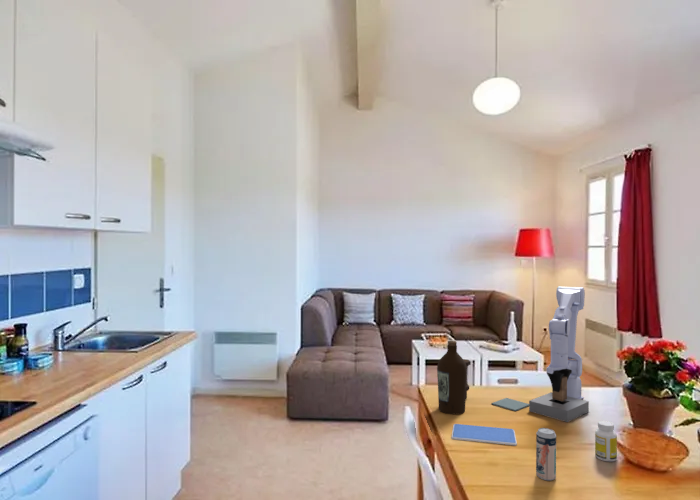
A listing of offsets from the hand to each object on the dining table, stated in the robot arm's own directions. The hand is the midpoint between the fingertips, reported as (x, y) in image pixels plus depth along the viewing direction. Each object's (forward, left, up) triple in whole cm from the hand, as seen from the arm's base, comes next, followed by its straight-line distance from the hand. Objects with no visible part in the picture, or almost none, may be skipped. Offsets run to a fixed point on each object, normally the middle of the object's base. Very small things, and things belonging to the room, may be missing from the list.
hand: (559, 390), depth 173 cm
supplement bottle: (+27, +27, -8) cm, 39 cm away
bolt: (+15, -31, -8) cm, 35 cm away
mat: (+7, -15, -8) cm, 18 cm away
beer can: (+51, +22, -8) cm, 56 cm away
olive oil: (+29, -26, -8) cm, 39 cm away
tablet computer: (+40, -5, -9) cm, 41 cm away
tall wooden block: (0, 0, -3) cm, 3 cm away
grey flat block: (0, 0, -8) cm, 8 cm away
